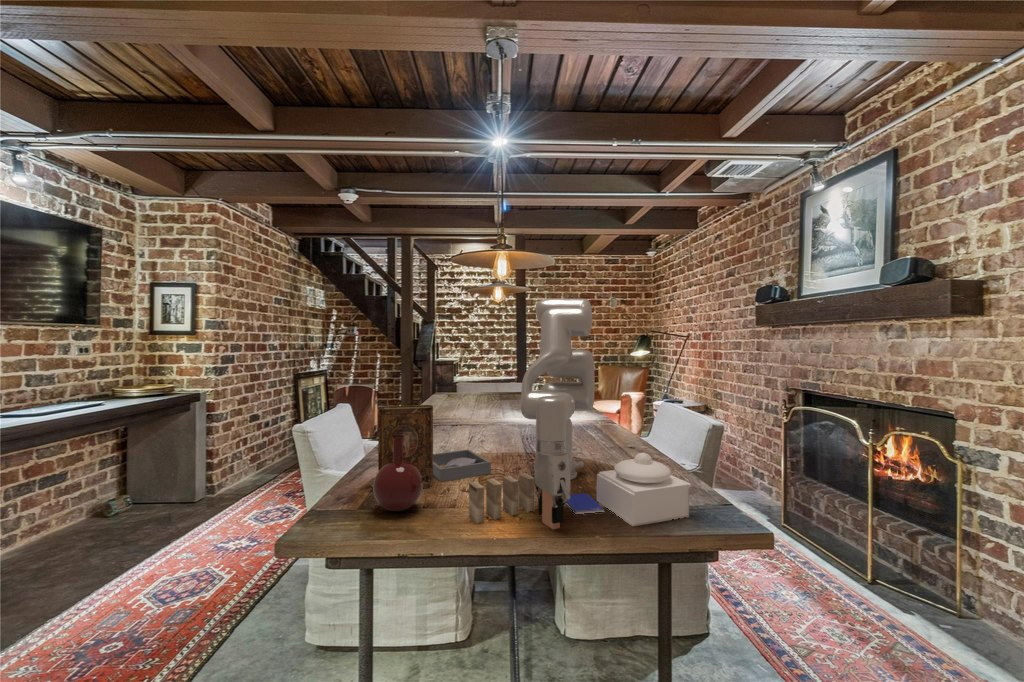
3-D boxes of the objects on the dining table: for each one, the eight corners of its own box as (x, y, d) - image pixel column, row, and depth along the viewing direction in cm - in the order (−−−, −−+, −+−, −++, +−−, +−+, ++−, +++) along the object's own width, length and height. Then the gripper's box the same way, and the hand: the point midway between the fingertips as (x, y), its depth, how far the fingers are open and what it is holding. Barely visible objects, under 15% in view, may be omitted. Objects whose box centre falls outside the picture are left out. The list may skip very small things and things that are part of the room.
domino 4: (525, 505, 129) (525, 473, 129) (534, 511, 125) (534, 478, 125) (518, 506, 128) (518, 474, 128) (528, 512, 124) (528, 479, 124)
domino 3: (509, 508, 127) (509, 475, 127) (518, 514, 122) (518, 481, 122) (502, 509, 126) (502, 476, 126) (511, 516, 121) (511, 482, 121)
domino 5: (548, 520, 119) (548, 485, 118) (559, 527, 114) (559, 491, 114) (542, 522, 118) (542, 487, 118) (552, 529, 113) (553, 493, 113)
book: (432, 482, 148) (432, 404, 148) (433, 488, 143) (433, 407, 142) (379, 485, 145) (379, 406, 144) (378, 491, 140) (377, 409, 139)
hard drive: (604, 509, 124) (587, 493, 136) (575, 511, 122) (561, 494, 134) (604, 514, 124) (587, 498, 136) (575, 516, 122) (561, 500, 134)
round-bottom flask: (363, 510, 125) (363, 437, 125) (404, 497, 135) (404, 429, 135) (391, 524, 116) (391, 445, 116) (432, 508, 126) (432, 436, 126)
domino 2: (493, 511, 124) (492, 478, 124) (501, 518, 120) (501, 483, 120) (486, 513, 123) (486, 479, 123) (494, 519, 119) (494, 485, 119)
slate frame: (468, 459, 174) (468, 449, 174) (490, 473, 157) (490, 462, 157) (422, 466, 166) (422, 455, 165) (440, 481, 149) (440, 469, 149)
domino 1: (476, 515, 122) (476, 481, 122) (484, 522, 118) (484, 487, 117) (468, 516, 121) (468, 482, 121) (476, 523, 117) (476, 488, 116)
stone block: (442, 481, 156) (470, 477, 154) (439, 466, 156) (467, 462, 154) (452, 471, 167) (479, 467, 166) (450, 458, 168) (476, 454, 166)
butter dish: (596, 502, 132) (596, 447, 131) (649, 495, 138) (650, 442, 137) (632, 527, 115) (633, 463, 115) (691, 517, 121) (691, 457, 121)
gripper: (584, 451, 110) (583, 527, 110) (545, 437, 125) (544, 503, 125) (557, 456, 106) (557, 534, 107) (520, 440, 121) (520, 509, 122)
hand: (550, 517), depth 116 cm, fingers open, 5 cm apart
